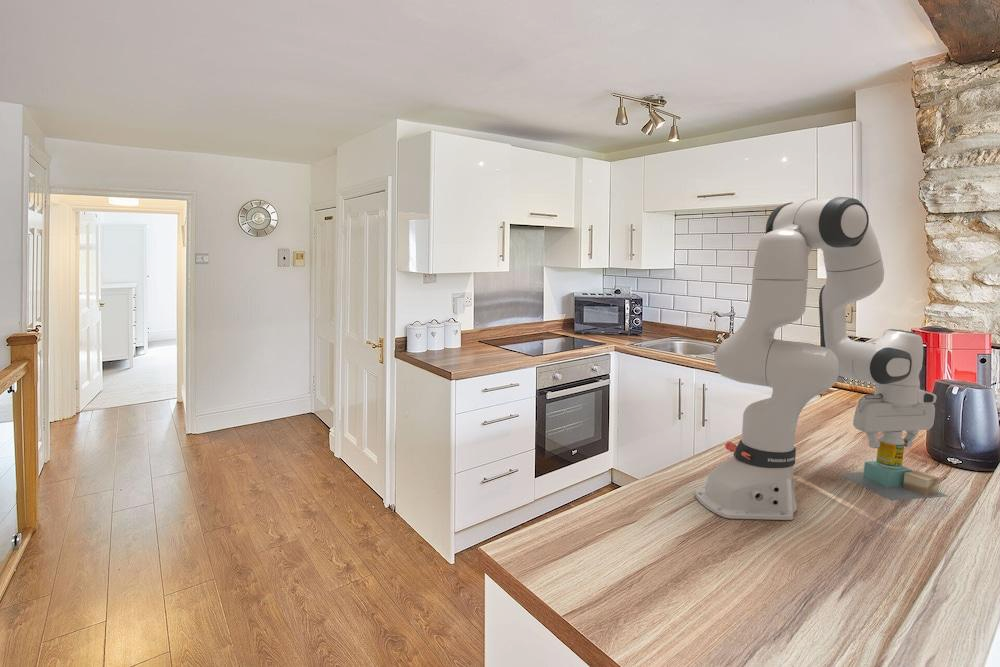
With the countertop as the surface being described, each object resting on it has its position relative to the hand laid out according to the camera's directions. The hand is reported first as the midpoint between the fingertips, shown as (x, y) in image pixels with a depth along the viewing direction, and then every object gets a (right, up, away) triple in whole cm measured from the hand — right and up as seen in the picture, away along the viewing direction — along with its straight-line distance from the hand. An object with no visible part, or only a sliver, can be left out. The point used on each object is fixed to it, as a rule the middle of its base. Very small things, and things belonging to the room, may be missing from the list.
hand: (890, 446), depth 133 cm
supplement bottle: (0, -5, +1) cm, 5 cm away
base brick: (0, -9, +1) cm, 9 cm away
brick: (+4, -10, -4) cm, 12 cm away
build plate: (0, -11, -1) cm, 10 cm away
